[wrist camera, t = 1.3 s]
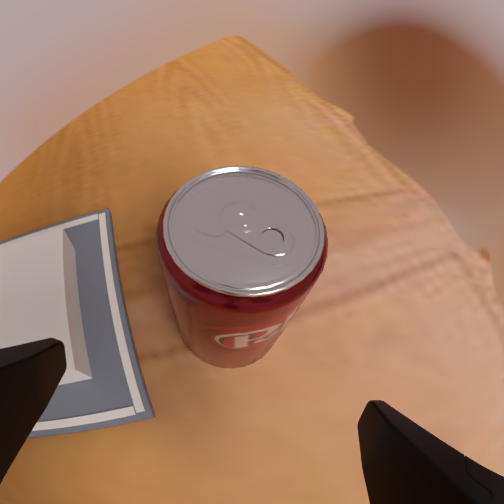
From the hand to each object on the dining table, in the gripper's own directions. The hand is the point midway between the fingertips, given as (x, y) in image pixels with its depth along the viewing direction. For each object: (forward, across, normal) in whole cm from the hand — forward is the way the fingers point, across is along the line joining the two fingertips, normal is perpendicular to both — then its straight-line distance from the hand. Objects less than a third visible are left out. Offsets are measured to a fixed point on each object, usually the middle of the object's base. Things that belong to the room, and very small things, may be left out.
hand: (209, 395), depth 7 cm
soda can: (+14, 0, +5) cm, 15 cm away
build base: (+11, +16, +8) cm, 21 cm away
